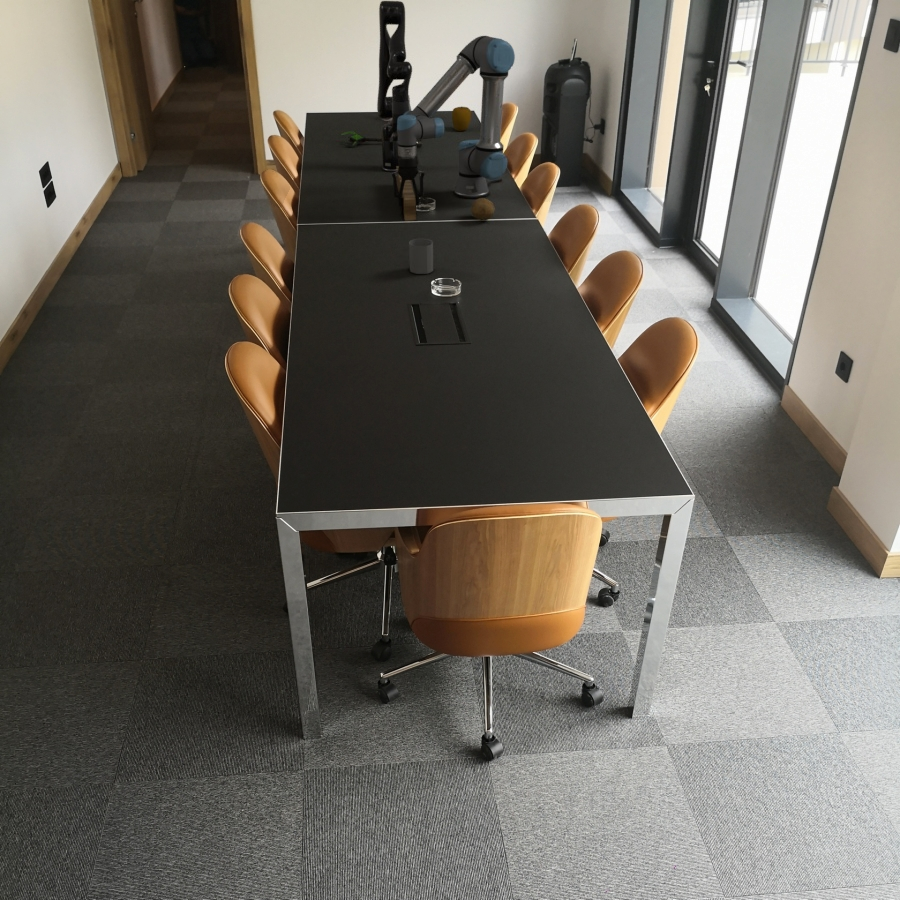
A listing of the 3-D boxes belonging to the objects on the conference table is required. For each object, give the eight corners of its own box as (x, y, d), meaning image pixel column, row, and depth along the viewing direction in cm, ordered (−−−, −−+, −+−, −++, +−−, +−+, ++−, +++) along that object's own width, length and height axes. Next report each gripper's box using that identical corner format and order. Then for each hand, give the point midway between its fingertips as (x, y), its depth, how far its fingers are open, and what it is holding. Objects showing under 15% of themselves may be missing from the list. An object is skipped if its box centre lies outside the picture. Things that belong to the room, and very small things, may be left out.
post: (396, 185, 398) (396, 166, 393) (407, 185, 399) (406, 165, 394) (404, 220, 355) (404, 199, 350) (416, 220, 355) (415, 199, 351)
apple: (471, 132, 486) (471, 108, 479) (451, 132, 486) (451, 108, 479) (470, 128, 495) (471, 104, 488) (452, 128, 495) (452, 104, 488)
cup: (409, 265, 311) (408, 238, 306) (432, 265, 312) (431, 238, 307) (410, 274, 304) (409, 246, 299) (433, 273, 305) (433, 246, 299)
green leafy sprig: (396, 128, 464) (339, 126, 462) (395, 143, 457) (338, 141, 454) (395, 137, 469) (340, 135, 466) (395, 153, 462) (339, 151, 459)
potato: (492, 213, 362) (492, 194, 358) (496, 224, 351) (496, 204, 346) (468, 214, 362) (469, 194, 358) (472, 224, 350) (472, 205, 346)
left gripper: (384, 113, 370) (386, 152, 379) (417, 113, 372) (418, 151, 380) (383, 110, 377) (385, 148, 385) (416, 109, 378) (417, 147, 387)
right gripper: (386, 159, 344) (388, 217, 357) (430, 158, 346) (431, 215, 359) (385, 154, 351) (387, 211, 363) (428, 153, 352) (429, 210, 365)
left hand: (401, 150), depth 383 cm, fingers open, 8 cm apart
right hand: (409, 213), depth 361 cm, fingers closed on post, 5 cm apart
